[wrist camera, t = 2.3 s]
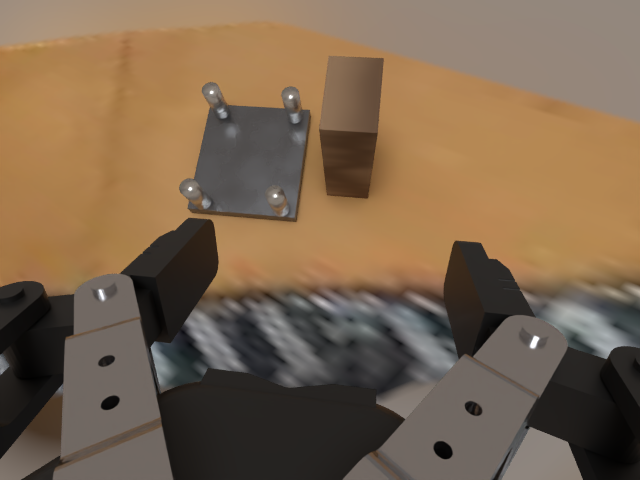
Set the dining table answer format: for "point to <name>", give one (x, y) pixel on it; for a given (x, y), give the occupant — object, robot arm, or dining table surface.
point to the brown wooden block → (350, 123)
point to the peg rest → (250, 159)
